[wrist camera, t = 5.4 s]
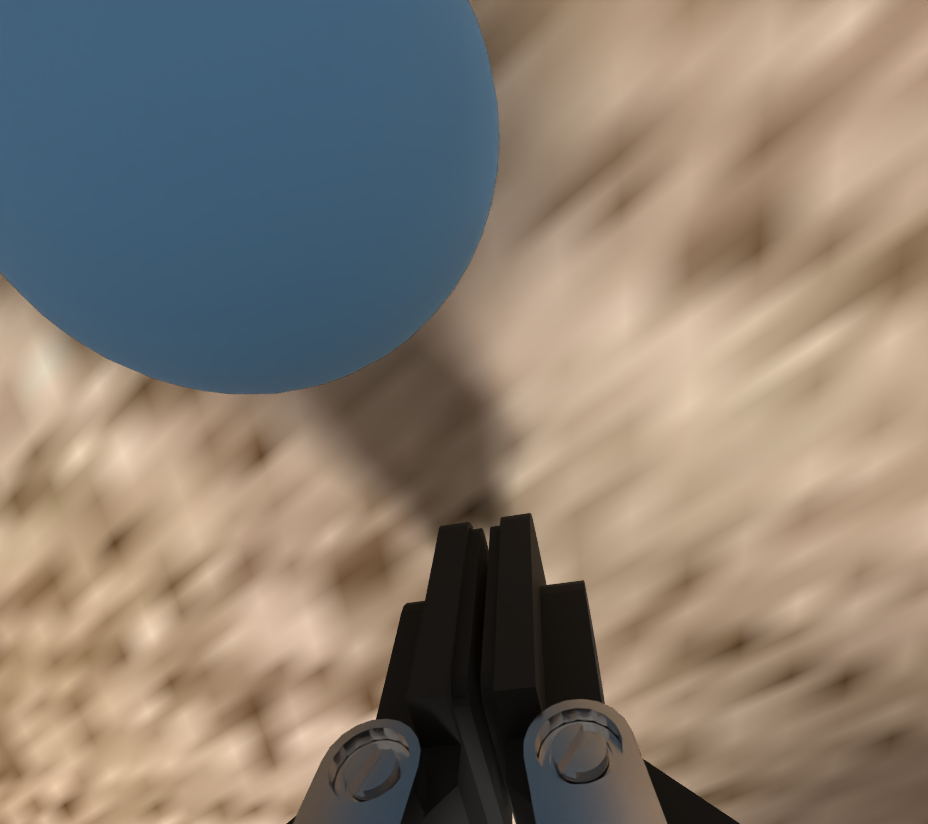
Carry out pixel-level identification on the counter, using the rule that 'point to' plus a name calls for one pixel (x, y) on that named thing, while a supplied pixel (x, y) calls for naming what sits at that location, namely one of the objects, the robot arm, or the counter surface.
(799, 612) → the counter surface
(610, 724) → the robot arm
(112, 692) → the counter surface
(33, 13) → the ball
